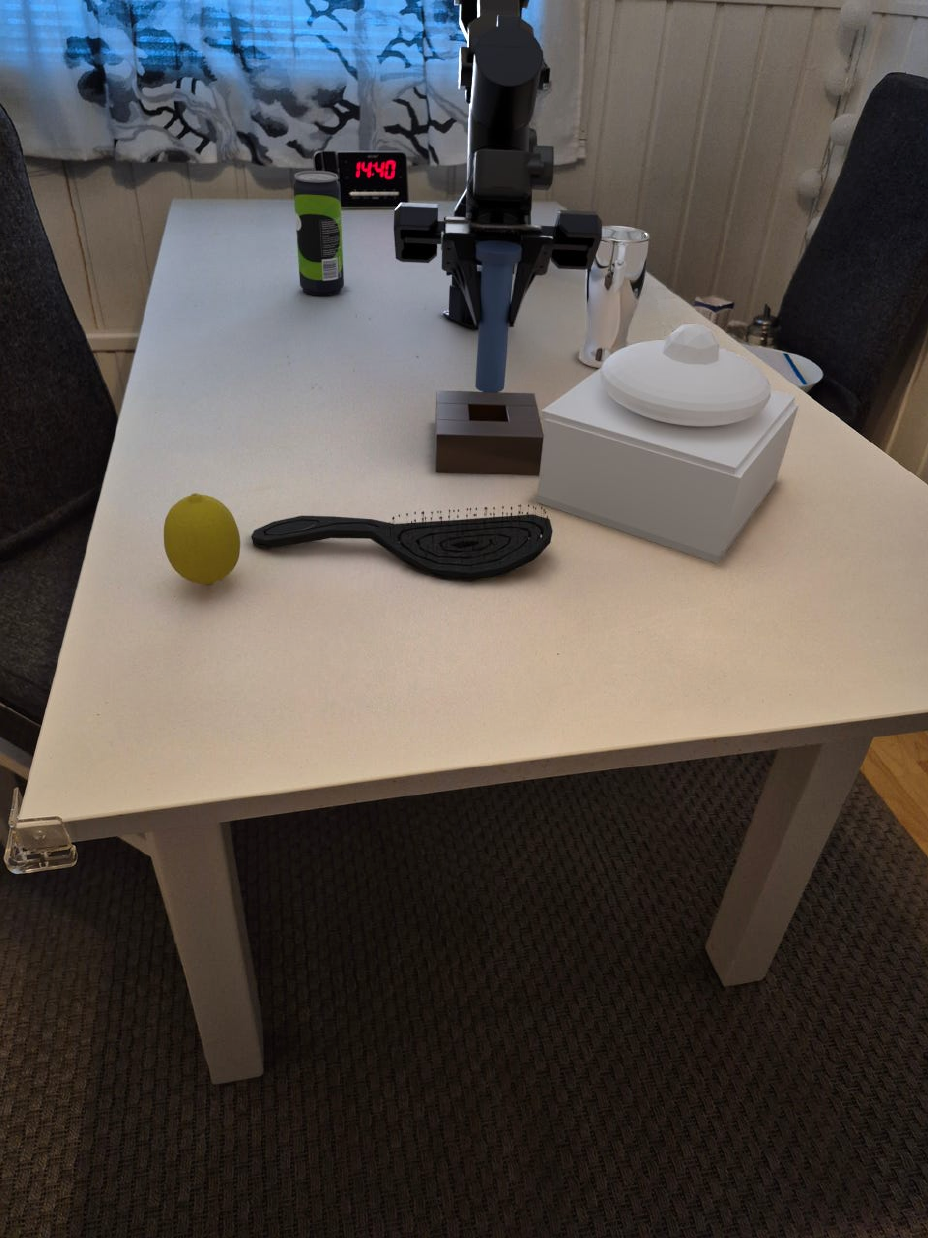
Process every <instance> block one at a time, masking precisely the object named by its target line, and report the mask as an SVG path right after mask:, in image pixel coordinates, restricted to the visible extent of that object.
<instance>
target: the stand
mask: <svg viewBox="0 0 928 1238" xmlns="http://www.w3.org/2000/svg"><path fill="white" fill-rule="evenodd" d="M537 403H538V402H537V399H536V394H535V393H534V392H507V391H506V392H505V391H503V392H502V391H500V392H495V393H488V392H483V391H477V390H476V391H471V390H441V389H437V390H435V416H434V417H435V421H434V439H435V440H434V443H435V444H434V446H435V447H434V448H435V449H434V451H435V452H434V454H435V455H434V456H435V462H434V463H435V464H434V465H435V472H436V473H464V474H499V475H500V474H501V475H535V476H536V475H537V476H538V475H540V466H541V457H542V448H543V438H544V430H543V429H544V428H543V426H542V422H541V415H540V413H539V408H538V404H537Z"/></svg>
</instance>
